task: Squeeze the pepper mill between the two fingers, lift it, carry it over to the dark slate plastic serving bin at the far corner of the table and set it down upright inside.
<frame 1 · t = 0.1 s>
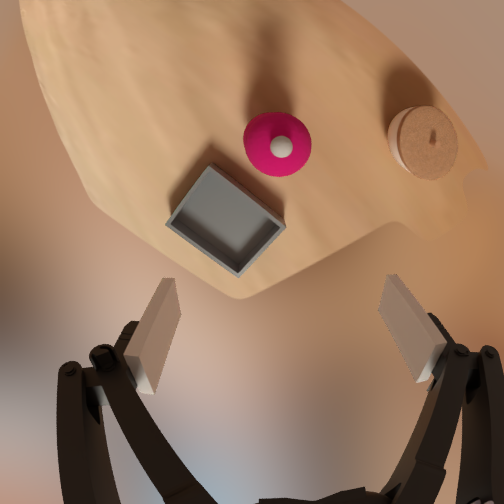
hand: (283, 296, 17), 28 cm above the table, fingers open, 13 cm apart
serving bin: (226, 217, 44), on the table
lidded jar: (405, 138, 38), on the table
pepper mill: (269, 137, 39), on the table
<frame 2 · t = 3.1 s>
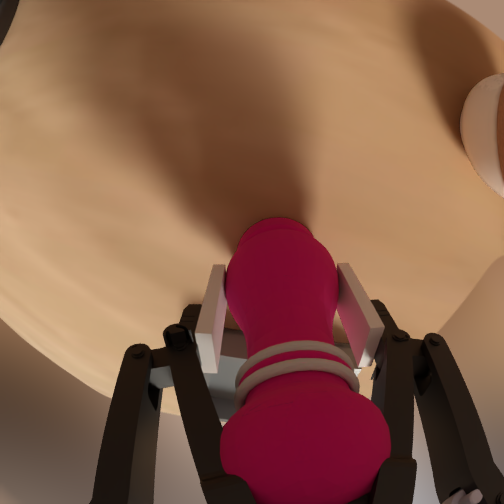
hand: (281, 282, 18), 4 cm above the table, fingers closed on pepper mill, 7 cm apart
serving bin: (272, 374, 28), on the table
lidded jar: (480, 130, 17), on the table
pepper mill: (277, 254, 22), on the table, touching gripper
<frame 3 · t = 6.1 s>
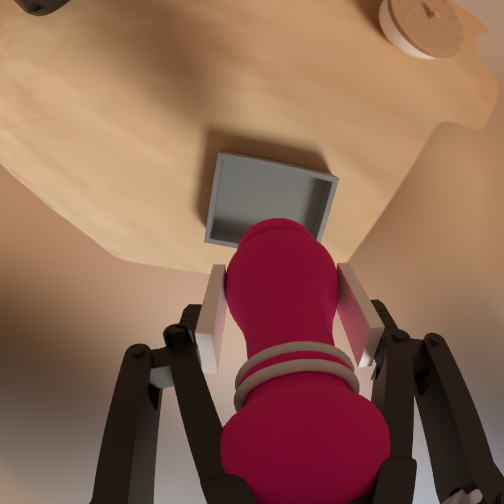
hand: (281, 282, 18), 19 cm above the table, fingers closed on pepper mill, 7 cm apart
serving bin: (268, 202, 36), on the table
lidded jar: (401, 31, 25), on the table
pepper mill: (277, 254, 22), point 15 cm above the table, touching gripper
when the fingers open (6 cm above the table, at t = 9.1 s): pepper mill drops 1 cm, resting on serving bin.
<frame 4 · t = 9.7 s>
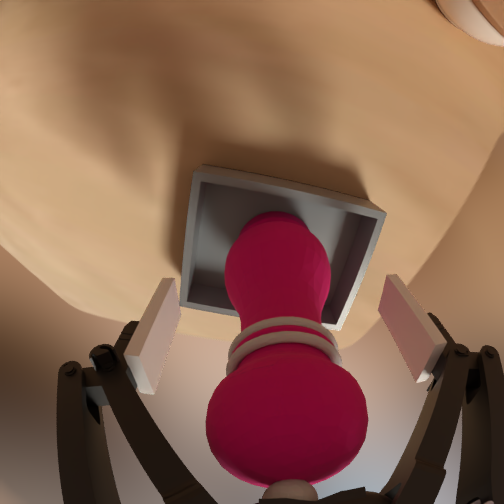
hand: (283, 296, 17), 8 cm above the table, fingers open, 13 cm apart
serving bin: (275, 243, 24), on the table
lidded jar: (455, 7, 13), on the table
pepper mill: (275, 245, 24), resting on serving bin
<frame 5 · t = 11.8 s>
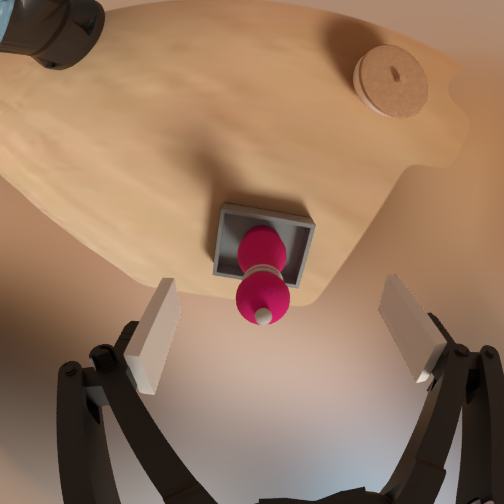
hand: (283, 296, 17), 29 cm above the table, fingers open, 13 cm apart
serving bin: (262, 242, 46), on the table
lidded jar: (375, 86, 35), on the table
pepper mill: (261, 242, 46), resting on serving bin
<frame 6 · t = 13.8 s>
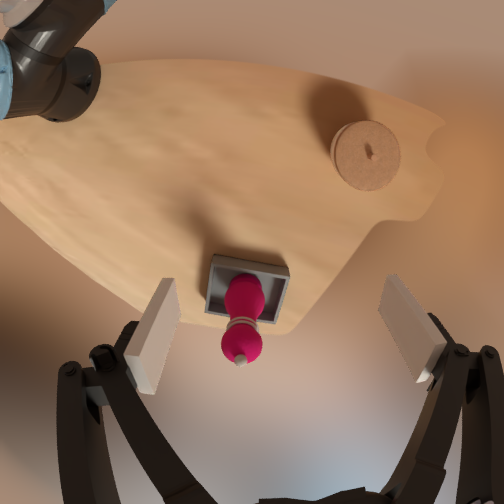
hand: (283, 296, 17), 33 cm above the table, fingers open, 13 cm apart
serving bin: (246, 285, 55), on the table
lidded jar: (352, 150, 44), on the table
pepper mill: (245, 286, 54), resting on serving bin
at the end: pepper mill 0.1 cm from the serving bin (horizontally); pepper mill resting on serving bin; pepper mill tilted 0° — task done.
